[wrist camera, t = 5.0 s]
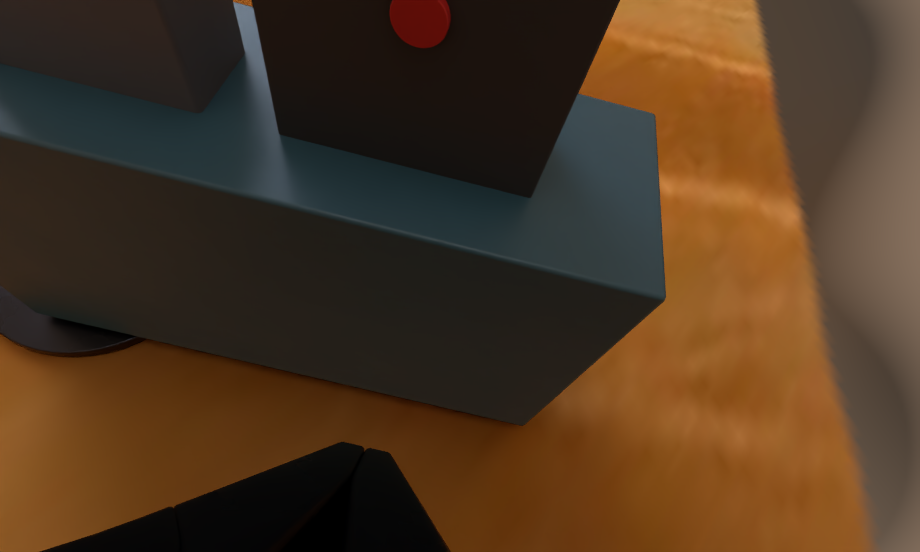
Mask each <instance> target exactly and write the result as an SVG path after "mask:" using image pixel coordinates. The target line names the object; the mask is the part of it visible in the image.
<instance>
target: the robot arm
mask: <svg viewBox="0 0 920 552" xmlns="http://www.w3.org/2000/svg"><path fill="white" fill-rule="evenodd" d="M364 451H365V452H364ZM40 552H451V551H450V550H449V548H448V546H447V545H446V543H445V542H444V540H443V538H442V537H441V535H440V533H439V532H438V530H437V529H436V527H435V525H434V524H433V522H432V520H431V519H430V517H429V516H428V514H427V512H426V511H425V509H424V507H423V506H422V504H421V503H420V501H419V499H418V498H417V496H416V495H415V493H414V491H413V490H412V488H411V486H410V485H409V483H408V482H407V480H406V478H405V477H404V475H403V473H402V472H401V470H400V469H399V467H398V465H397V464H396V462H395V460H394V459H393V457H392V456H391V454H390V453H389V452H385V451H381V450H377V449H372V448H367V449H366V450H364V448H363V447H362V446H359V445H355V444H351V443H346V442H340V443H337V444H334V445H332V446H329V447H326V448H324V449H321V450H319V451H316V452H313V453H311V454H308V455H306V456H303V457H300V458H298V459H295V460H293V461H290V462H287V463H285V464H282V465H280V466H277V467H274V468H272V469H269V470H267V471H264V472H261V473H259V474H256V475H254V476H251V477H248V478H246V479H243V480H241V481H238V482H235V483H233V484H230V485H227V486H225V487H222V488H220V489H217V490H214V491H212V492H209V493H207V494H204V495H201V496H199V497H196V498H194V499H191V500H188V501H186V502H183V503H180V504H178V505H176V506H175V507H174V508H173V507H167V508H165V509H162V510H159V511H157V512H154V513H151V514H149V515H146V516H144V517H141V518H138V519H135V520H133V521H130V522H127V523H124V524H121V525H119V526H116V527H113V528H110V529H107V530H105V531H102V532H99V533H96V534H93V535H90V536H87V537H84V538H81V539H78V540H75V541H72V542H69V543H65V544H62V545H59V546H56V547H53V548H50V549H47V550H43V551H40Z"/></svg>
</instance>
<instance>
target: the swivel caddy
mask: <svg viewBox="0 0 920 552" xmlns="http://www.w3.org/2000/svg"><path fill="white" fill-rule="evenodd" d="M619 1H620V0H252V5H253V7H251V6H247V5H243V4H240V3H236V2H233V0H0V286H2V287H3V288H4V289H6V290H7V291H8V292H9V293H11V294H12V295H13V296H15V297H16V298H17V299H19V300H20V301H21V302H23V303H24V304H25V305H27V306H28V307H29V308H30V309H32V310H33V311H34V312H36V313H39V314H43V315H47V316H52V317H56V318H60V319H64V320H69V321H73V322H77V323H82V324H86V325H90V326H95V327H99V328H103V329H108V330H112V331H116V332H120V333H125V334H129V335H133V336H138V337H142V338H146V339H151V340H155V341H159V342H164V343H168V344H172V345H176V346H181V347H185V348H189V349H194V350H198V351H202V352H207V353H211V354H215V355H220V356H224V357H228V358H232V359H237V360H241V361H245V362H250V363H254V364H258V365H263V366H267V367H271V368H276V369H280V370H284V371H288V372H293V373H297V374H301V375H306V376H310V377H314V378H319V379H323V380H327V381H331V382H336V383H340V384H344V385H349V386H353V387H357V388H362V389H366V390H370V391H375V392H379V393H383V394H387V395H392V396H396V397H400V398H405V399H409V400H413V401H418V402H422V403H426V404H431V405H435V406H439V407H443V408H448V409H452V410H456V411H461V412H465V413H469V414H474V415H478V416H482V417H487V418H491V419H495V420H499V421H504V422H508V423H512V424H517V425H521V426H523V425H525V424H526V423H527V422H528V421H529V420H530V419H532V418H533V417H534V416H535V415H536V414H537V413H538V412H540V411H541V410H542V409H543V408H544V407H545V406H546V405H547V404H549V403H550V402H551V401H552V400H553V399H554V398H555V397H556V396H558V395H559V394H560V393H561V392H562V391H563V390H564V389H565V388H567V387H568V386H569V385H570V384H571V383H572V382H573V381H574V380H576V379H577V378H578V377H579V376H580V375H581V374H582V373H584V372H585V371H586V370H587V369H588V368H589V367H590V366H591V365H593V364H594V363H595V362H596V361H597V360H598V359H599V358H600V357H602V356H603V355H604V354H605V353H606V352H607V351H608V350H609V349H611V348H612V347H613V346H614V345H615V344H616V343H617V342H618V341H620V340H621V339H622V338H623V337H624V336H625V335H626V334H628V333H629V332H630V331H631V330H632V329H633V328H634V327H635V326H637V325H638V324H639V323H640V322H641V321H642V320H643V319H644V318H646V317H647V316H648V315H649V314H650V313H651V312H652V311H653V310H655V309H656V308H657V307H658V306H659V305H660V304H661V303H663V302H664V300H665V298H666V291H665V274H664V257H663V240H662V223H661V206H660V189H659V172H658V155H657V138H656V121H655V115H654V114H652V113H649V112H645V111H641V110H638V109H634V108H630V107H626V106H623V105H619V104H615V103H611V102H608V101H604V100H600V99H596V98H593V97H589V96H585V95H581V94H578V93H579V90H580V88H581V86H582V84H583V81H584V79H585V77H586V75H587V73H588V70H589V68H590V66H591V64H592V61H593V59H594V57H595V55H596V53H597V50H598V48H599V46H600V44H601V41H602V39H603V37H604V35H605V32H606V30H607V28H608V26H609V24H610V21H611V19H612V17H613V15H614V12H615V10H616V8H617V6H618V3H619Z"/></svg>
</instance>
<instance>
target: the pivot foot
mask: <svg viewBox="0 0 920 552" xmlns="http://www.w3.org/2000/svg"><path fill="white" fill-rule="evenodd" d="M0 333H1V334H2V335H4V336H5V337H6V338H8V339H9V340H11V341H12V342H14V343H16V344H18V345H20V346H22V347H24V348H26V349H28V350H31V351H35V352H38V353H41V354H47V355H53V356H63V357H81V356H93V355H99V354H104V353H109V352H113V351H116V350H120V349H123V348H126V347H129V346H131V345H134V344H137V343H139V342H141V341H143V340H145V339H146V338H142V337H138V336H133V335H129V334H125V333H120V332H116V331H112V330H108V329H103V328H99V327H95V326H90V325H86V324H82V323H77V322H73V321H69V320H64V319H60V318H56V317H52V316H47V315H43V314H39V313H36V312H34V311H33V310H32V309H30V308H29V307H28V306H27V305H25V304H24V303H23V302H21V301H20V300H19V299H17V298H16V297H15V296H13V295H12V294H11V293H9V292H8V291H7V290H6V289H4V288H3V287H2V286H0Z"/></svg>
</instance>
